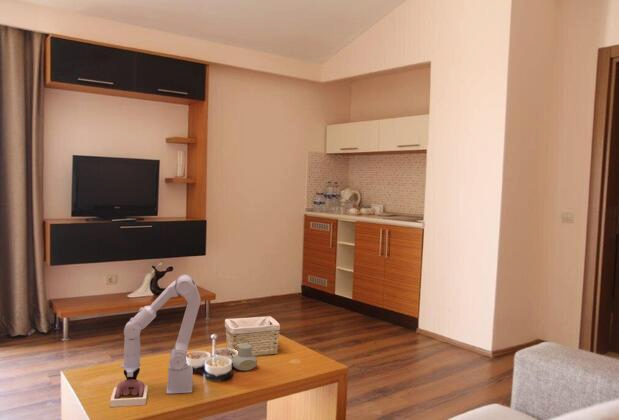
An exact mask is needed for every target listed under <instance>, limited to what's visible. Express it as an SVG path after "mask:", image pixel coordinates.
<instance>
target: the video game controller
mask: <svg viewBox="0 0 619 420" xmlns="http://www.w3.org/2000/svg"><path fill="white" fill-rule="evenodd" d="M116 387H117V389H116V399H120V396H121V393H122V395H123V396H128V395H130V389H128V388H134V389H131V395H132V396H137V395H138V398H141V397H143V395H144V389H145V383H144V382H143V381H141V380H140V379H137V378H136V379H128V380H127V379H123V380H121V381H120V382H119V383H118V384H117V385H116Z"/></svg>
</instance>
